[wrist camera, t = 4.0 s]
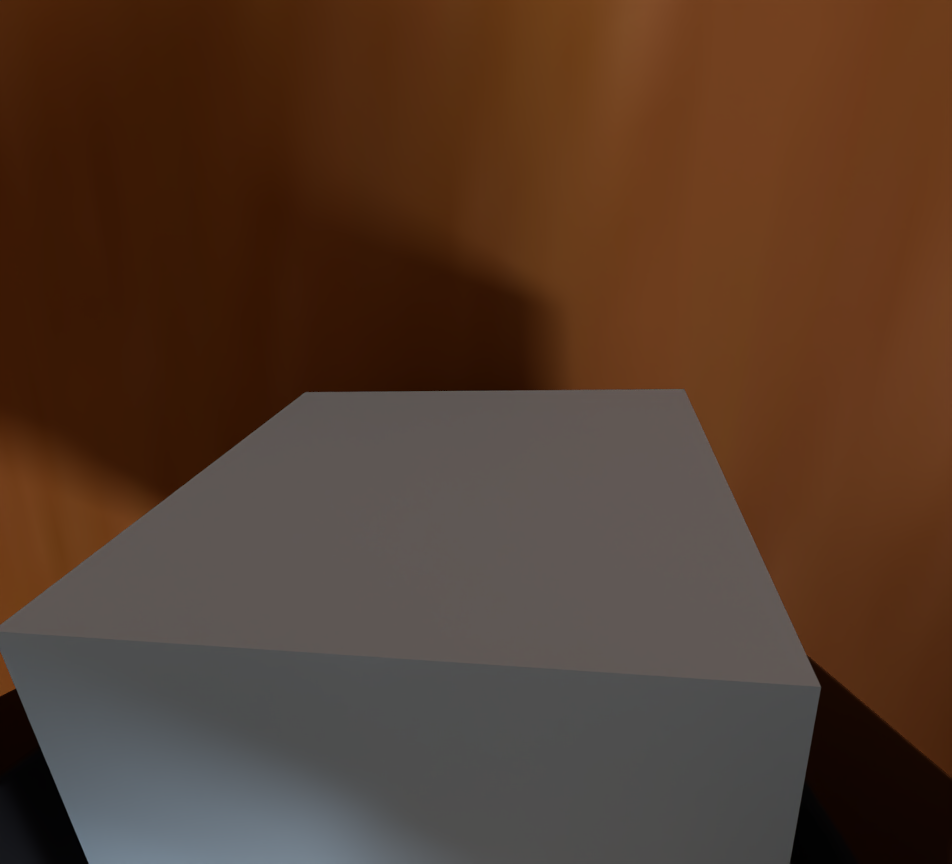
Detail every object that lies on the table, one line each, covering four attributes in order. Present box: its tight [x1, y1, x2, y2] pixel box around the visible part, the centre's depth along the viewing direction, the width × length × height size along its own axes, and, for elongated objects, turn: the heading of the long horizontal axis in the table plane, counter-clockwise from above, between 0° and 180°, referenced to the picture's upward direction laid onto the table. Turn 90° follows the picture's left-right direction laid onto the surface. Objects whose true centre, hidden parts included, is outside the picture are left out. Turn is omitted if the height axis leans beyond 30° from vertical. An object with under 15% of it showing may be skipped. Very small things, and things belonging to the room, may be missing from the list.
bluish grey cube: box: [0, 389, 821, 864], centre depth 7 cm, size 5×5×5 cm
